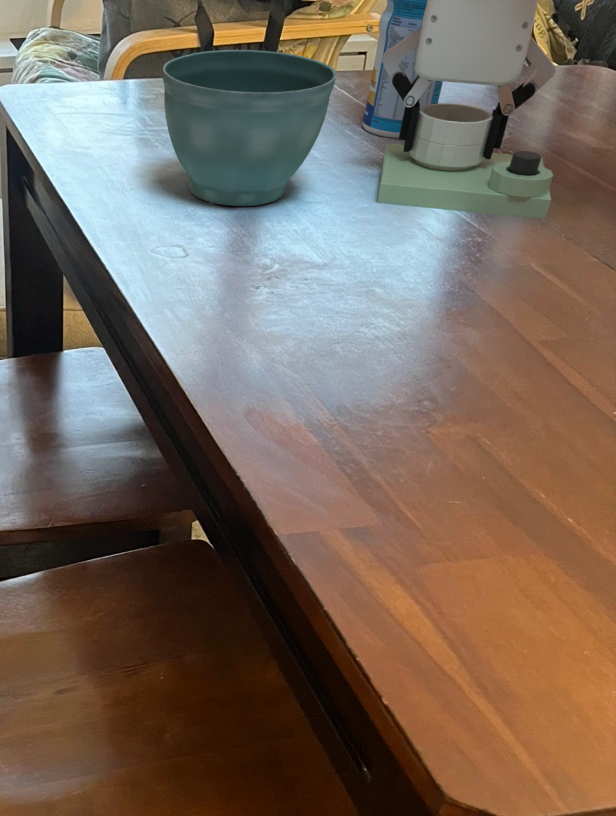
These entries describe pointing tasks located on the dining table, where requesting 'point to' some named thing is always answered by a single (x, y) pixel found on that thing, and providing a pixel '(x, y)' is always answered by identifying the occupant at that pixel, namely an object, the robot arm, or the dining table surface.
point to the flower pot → (244, 120)
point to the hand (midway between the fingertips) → (446, 150)
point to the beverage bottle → (383, 98)
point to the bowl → (451, 136)
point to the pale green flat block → (465, 186)
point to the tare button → (524, 163)
